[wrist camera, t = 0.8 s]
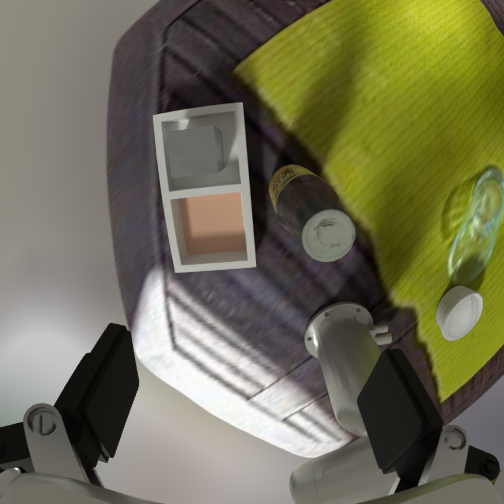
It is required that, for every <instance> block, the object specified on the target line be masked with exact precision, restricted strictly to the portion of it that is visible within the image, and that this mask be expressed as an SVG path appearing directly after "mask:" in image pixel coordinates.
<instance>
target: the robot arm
mask: <svg viewBox="0 0 504 504" xmlns="http://www.w3.org/2000/svg"><path fill="white" fill-rule="evenodd" d="M387 331H388V326H387V325H386V324H385V325H380V326H376V327H375V325H373V319H372V317H371V315H370V313H369V311H368V310H367V309H366V308H365V307H364V306H362V305H360V304H358V303H355V302H347V301H345V302H338V303H334V304H331V305H329V306H327V307H325V308H323V309H322V310H320V311H319V312H318V313H316V314H315V315H314V316H313V317H312V319H311V320H310V321H309V323H308V325H307V326H306V329H305V332H304V341H305V345H306V348H307V350H308V351H309V353H310V354H312V355H313V356H314V357H316V358H318V359H319V361H320V364H321V368H322V371H323V375H324V378H325V382H326V385H327V389H328V392H329V396H330V400H331V403H332V407H333V410H334V414H335V417H336V419H337V421H338V422H339V424H340V425H341V426H342V427H343V428H345V429H346V430H348V431H349V432H351V433H353V434H356V435H358V436H360V437H361V438H360V439H358V440H356V441H354V442H352V443H350V444H349V445H346V446H344V447H342V448H339V449H337V450H334V451H332V452H329V453H326V454H324V455H321V456H319V457H316V458H313V459H311V460H308V461H306V462H304V463H302V464H300V465H299V466H298V467H296V468H295V470H294V471H293V472H292V474H291V477H290V492H291V496H292V499H293V502H294V504H504V470H503V469H501V470H500V466H499V462H498V460H497V459H496V457H495V456H493V455H492V454H489V453H487V452H484V451H482V450H480V449H477V448H475V447H473V446H470V445H469V438H468V435H467V433H466V432H465V430H464V429H462V428H461V427H459V426H457V425H448V426H446V427H445V428H444V429H443V428H442V425H443V424H444V422H443V420H442V418H441V416H440V415H439V413H438V411H437V409H436V407H435V405H434V404H433V402H432V400H431V398H430V397H429V395H428V393H427V391H426V390H425V388H424V386H423V384H422V383H421V381H420V379H419V378H418V376H417V374H416V373H415V371H414V369H413V368H412V366H411V364H410V363H409V361H408V360H407V358H406V356H405V355H404V353H403V352H402V350H401V349H386V350H385V351H384V353H382V352H381V350H380V348H379V347H378V345H384V344H389V343H391V341H392V337H391V334H390V333H386V334H381V335H378V336H375V335H376V333H384V332H387ZM138 387H139V377H138V372H137V367H136V361H135V356H134V349H133V343H132V337H131V332H130V331H128V330H127V328H126V326H123V325H119V324H114V323H110V324H109V325H108V326H107V328H106V330H105V331H104V332H103V334H102V335H101V337H100V338H99V340H98V341H97V343H96V345H95V346H94V348H93V349H92V351H91V352H90V353H87V354H85V356H84V357H83V358H82V360H81V361H80V363H79V364H78V366H77V368H76V369H75V371H74V373H73V374H72V376H71V377H70V379H69V381H68V382H67V384H66V386H65V387H64V389H63V391H62V392H61V394H60V396H59V397H58V399H57V401H56V403H55V404H54V406H51V405H49V404H45V403H41V404H36V405H33V406H32V407H30V408H29V409H28V410H27V411H26V413H25V415H24V418H23V422H20V423H16V424H12V425H9V426H4V427H0V504H162V503H158V502H153V501H149V500H144V499H140V498H136V497H132V496H128V495H125V494H122V493H118V492H115V491H112V490H108V489H105V488H104V485H103V484H102V482H101V480H100V478H99V476H98V474H97V472H96V470H95V467H96V465H97V462H98V460H99V461H102V462H105V463H107V462H108V460H109V457H110V458H113V457H114V455H115V452H116V450H117V446H118V444H119V441H120V438H121V434H122V431H123V429H124V426H125V423H126V420H127V417H128V415H129V412H130V409H131V407H132V404H133V401H134V398H135V396H136V393H137V390H138Z"/></svg>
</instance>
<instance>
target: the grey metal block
mask: <svg viewBox="0 0 504 504" xmlns="http://www.w3.org/2000/svg"><path fill="white" fill-rule="evenodd" d="M166 133H167V143H168V153H169V162H170V170H171V178H172V179H173V178H180V177H188V176H195V175H204V174H213V173H219V172H220V171H221V170H222V169H224V168H225V163H224V152H223V141H222V130H220V129H219V128H217V127H216V126H214V125H213V126H205V127H198V128H191V129H184V130H178V131H172V132H166Z"/></svg>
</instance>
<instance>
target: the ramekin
mask: <svg viewBox="0 0 504 504" xmlns="http://www.w3.org/2000/svg"><path fill="white" fill-rule="evenodd" d="M482 308H483V298H482V296H481V294H480V293H478V292H477V291H473V290H471V289H469V288H467V287H465V286H456V287H453V288H452V289H450V290H449V291H448V292H447V293H446V294H445V295H444V296H443V297H442V299H441V300H440V302H439V304H438V306H437V310H436V321H437V323H438V325H439V327H440V329H441V331H442V334H443V336H444V337H445V338H446V339H447V340H450V341H454V340H457V339H460V338H461V337H463V336H464V335H466V334H467V333H468V332H469V331H470V330H471V329H472V328H473V327H474V325H475V324H476V322H477V321H478V319H479V317H480V314H481V312H482Z"/></svg>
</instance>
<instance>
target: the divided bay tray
mask: <svg viewBox="0 0 504 504" xmlns="http://www.w3.org/2000/svg"><path fill="white" fill-rule="evenodd" d="M153 121H154V133H155V143H156V152H157V161H158V169H159V177H160V185H161V192H162V199H163V206H164V212H165V218H166V224H167V230H168V236H169V241H170V247H171V252H172V257H173V263H174V268H175V273H179V272H194V271H208V270H222V269H236V268H249V267H256V256H255V243H254V231H253V219H252V207H251V195H250V183H249V171H248V159H247V147H246V135H245V123H244V112H243V103H242V102H241V103H230V104H221V105H212V106H205V107H198V108H191V109H185V110H179V111H173V112H168V113H163V114H158V115H153ZM213 125H214V126H216V127H217V128H219V129H220V130H222V141H223V152H224V163H225V168H224V169H222V170H221V171H220V172H219V173H213V174H204V175H195V176H188V177H180V178H173V179H172V178H171V170H170V162H169V153H168V143H167V133H166V132H172V131H178V130H184V129H191V128H198V127H205V126H213Z"/></svg>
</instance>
